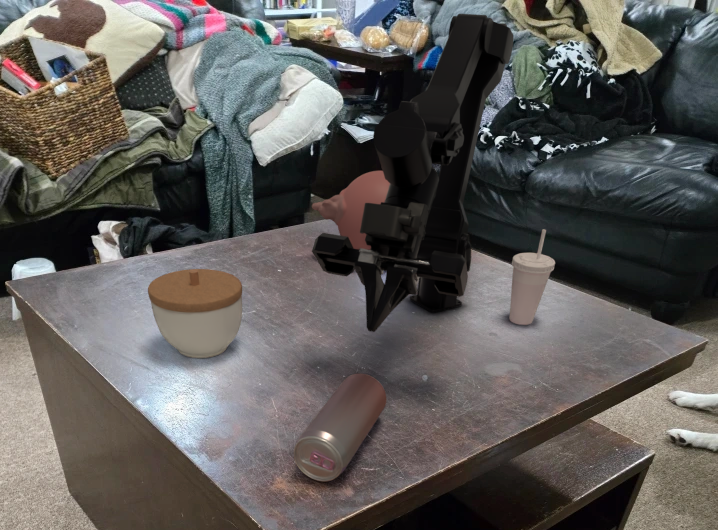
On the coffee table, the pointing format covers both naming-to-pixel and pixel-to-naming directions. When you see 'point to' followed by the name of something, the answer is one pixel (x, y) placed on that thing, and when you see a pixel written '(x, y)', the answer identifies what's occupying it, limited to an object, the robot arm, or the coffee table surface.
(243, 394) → the coffee table surface
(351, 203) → the balloon
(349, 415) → the beverage can
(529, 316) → the smoothie
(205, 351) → the lidded bowl
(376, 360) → the coffee table surface
